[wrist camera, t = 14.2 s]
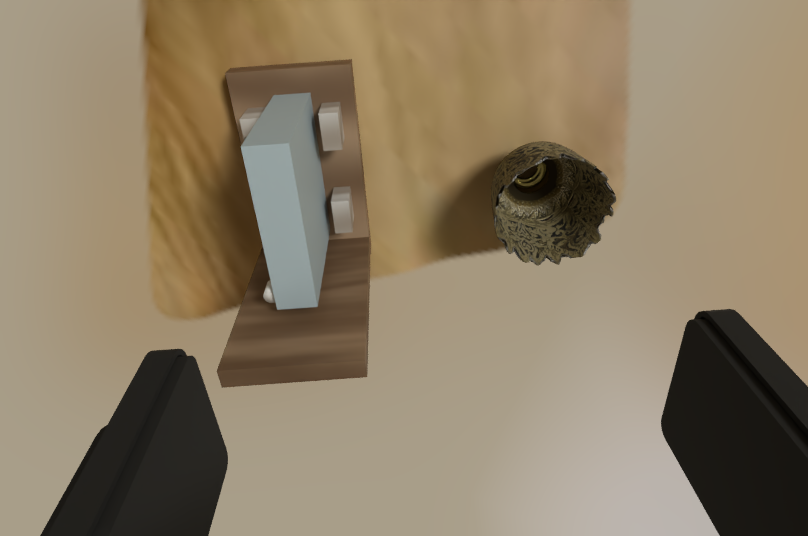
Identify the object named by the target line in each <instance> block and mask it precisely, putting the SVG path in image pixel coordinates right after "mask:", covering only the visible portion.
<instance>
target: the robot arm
mask: <svg viewBox="0 0 808 536" xmlns="http://www.w3.org/2000/svg"><path fill="white" fill-rule="evenodd" d="M661 427H662V431H663V435H664V437H665V439H666V441H667V443H668V445H669V446H670V448H671V450H672V452H673V454H674V455H675V457H676V459H677V461H678V462H679V464H680V466H681V468H682V470H683V471H684V473H685V475H686V477H687V478H688V480H689V482H690V484H691V486H692V487H693V489H694V491H695V493H696V494H697V496H698V498H699V500H700V502H701V503H702V505H703V507H704V509H705V510H706V512H707V514H708V516H709V517H710V519H711V521H712V523H713V525H714V526H715V528H716V530H717V532H718V533H719V535H720V536H808V387H807V385H806V384H805V383H804V382H803V381H802V380H801V379H800V378H799V377H798V376H797V375H796V374H795V373H794V372H793V371H792V369H790V367H789V366H788V365H787V364H786V363H785V362H784V361H783V360H782V359H781V358H780V357H779V356H778V355H777V354H776V352H775V351H774V350H773V349H772V348H771V347H770V346H769V345H768V344H767V343H766V342H765V341H764V340H763V339H762V338H761V337H760V335H759V334H757V332H756V331H755V330H754V329H753V328H752V327H751V326H750V325H749V324H748V323H747V322H746V321H745V320H744V319H743V317H742V316H741V315H740V314H739V313H737V312H736V311H735V310H731V309H726V310H711V311H701V312H698V313H697V315H696V316H695V318H694V319H693V320H689V321H688V322H687V325H686V327H685V331H684V335H683V339H682V343H681V346H680V350H679V354H678V358H677V362H676V365H675V369H674V373H673V377H672V381H671V384H670V388H669V392H668V396H667V399H666V404H665V407H664V411H663V415H662V419H661ZM227 464H228V455H227V450H226V446H225V444H224V441H223V438H222V435H221V432H220V429H219V426H218V423H217V420H216V417H215V414H214V411H213V408H212V405H211V402H210V400H209V397H208V394H207V391H206V388H205V385H204V382H203V379H202V376H201V374H200V370H199V368H198V364H197V362H196V359H195V358H194V357H193V356H187V355H186V353H185V352H184V351H183V350H182V349H171V350H157V351H150V352H149V353H147V355H146V356H145V358H144V360H143V361H142V363H141V365H140V367H139V369H138V371H137V373H136V374H135V376H134V378H133V380H132V381H131V383H130V385H129V387H128V389H127V391H126V392H125V394H124V396H123V398H122V400H121V401H120V403H119V405H118V407H117V409H116V411H115V412H114V414H113V416H112V418H111V420H110V422H109V423H108V425H107V426H105V427H104V428H102V429H101V430H100V432H99V433H98V434H97V436H96V437H95V439H94V441H93V442H92V445H91V446H90V448H89V450H88V451H87V453H86V455H85V457H84V459H83V460H82V462H81V464H80V466H79V468H78V469H77V471H76V473H75V475H74V476H73V478H72V480H71V482H70V484H69V485H68V487H67V489H66V491H65V493H64V494H63V496H62V498H61V500H60V501H59V503H58V505H57V507H56V509H55V510H54V512H53V514H52V516H51V518H50V519H49V521H48V523H47V525H46V526H45V528H44V530H43V532H42V534H41V535H40V536H208V534H209V531H210V527H211V524H212V520H213V517H214V513H215V509H216V506H217V502H218V499H219V495H220V492H221V488H222V484H223V481H224V478H225V474H226V470H227Z"/></svg>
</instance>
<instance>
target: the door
mask: <svg viewBox="0 0 808 536" xmlns="http://www.w3.org/2000/svg"><path fill="white" fill-rule="evenodd" d="M241 151H242V155H243V159H244V164H245V168H246V173H247V177H248V182H249V186H250V191H251V195H252V200H253V204H254V209H255V213H256V218H257V222H258V226H259V231H260V235H261V240H262V244H263V249H264V253H265V258H266V262H267V267H268V271H269V276H270V280H269V281H268V282H267V285H266V288H265V291H264V294H263V297H264V299H265V301H267V302H269V303H274V302H276V307H277V310H282V309H295V308H309V307H318V301H319V295H320V289H321V283H322V277H323V271H324V265H325V259H326V252H327V246H328V240H329V234H330V223H329V216H328V209H327V203H326V196H325V189H324V182H323V175H322V168H321V162H320V155H319V148H318V141H317V134H316V128H315V121H314V114H313V107H312V100H311V94H310V93H298V94H284V95H273V97H272V99H271V100H270V102H269V103H268V105H267V106H266V108H265V109H264V111H263V113H262V114H261V116H260V117H259V119H258V120H257V122H256V124H255V125H254V127H253V128H252V130H251V131H250V133H249V134H248V136H247V137H245V138H244V142H243V144H242V145H241Z"/></svg>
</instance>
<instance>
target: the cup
mask: <svg viewBox="0 0 808 536" xmlns="http://www.w3.org/2000/svg"><path fill="white" fill-rule="evenodd" d="M536 165H537V170H536V172H535V174H534V175H533V176H532V177H530V178H527V179H522V178H520V177H518V175H520V174H522V173H523V172H525V171H526V170H528V169H529V168H531V167H533V166H536ZM607 180H609V179H608V178H607V176H606V175H605V174H604V173H603V172H602V171H600V170H599V169H597V168H596V166H595V165H594V164H592V163H590V162H589V161H587V160H586V159H584V158H583V157H582V156H580V155H578V154H577V153H575V152H574V151H572V150H570V149H568V148H566V147H564V146H562V145H559V144H556V143H551V142H533V143H529V144H526V145H523V146H521V147H519V148H517V149H515V150H514V151H512V152H511V153H510V154H509V155H507V156H506V157H505V158H504V160H503V161H502V162H501V163H500V165H499V166H498V168H497V170H496V172H495V175H494V178H493V182H492V187H491V200H492V209H493V216H494V222H495V231H496V235H497V237H498V239H499V240H500V241H502V242H503V243H504V245H505V248H506V250H507V252H508V253H509V254H511V253H513V252H515V253H516V255H517V256H518V258H519V259H520V260H522V261H523V262H525V263H526V262H529V261H531V262H534V263H535V264H536V265H540V264H541V263H542V262H543V261H545V258H548V259H549V260H550V261H551V262H554V263H555V264H560V261H561V258H562V257H569V258H576V257H582V256H583V255H584V254H585V253H586V251H587V250H588V248H589V247H590V245H591V244H596V243H598V242H599V241H600V239H601V234H600V233H599V229H598V228H599V226H600V224H602V223H604V218H605V216H606V215H610V216H613V209H612V207H611V205H612V204H613V203H615V202H616V196H615V194H614V192H613V190H612V189H611V187H610V186H609V185H608V183H607Z"/></svg>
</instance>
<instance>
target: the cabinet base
mask: <svg viewBox="0 0 808 536" xmlns="http://www.w3.org/2000/svg"><path fill="white" fill-rule="evenodd" d="M225 75H226V79H227V84H228V88H229V93H230V97H231V102H232V106H233V111H234V115H235V120H236V124H237V129H238V133H239V137H240V142H241V145H242V144H243V142H244V138H245V137H247V136H248V134H249V133H250V131H251V130H252V128H253V127H254V125H255V124H256V122H257V120H258V119H259V117H260V116H261V114H262V113H263V111H264V109H265V108H266V106H267V105H268V103H269V102H270V100H271V99H272V97H273V95H284V94H298V93H310V94H311V100H312V107H313V114H314V121H315V128H316V134H317V141H318V148H319V155H320V162H321V168H322V175H323V182H324V189H325V196H326V203H327V209H328V216H329V223H330V234H329V240H328V246H327V252H326V259H325V265H324V271H323V277H322V283H321V289H320V295H319V301H318V307H309V308H295V309H282V310H277V307H276V302H274V303H269V302H267V301H265V299H264V297H263V294H264V291H265V288H266V285H267V282H268V281H269V280H270V276H269V271H268V267H267V262H266V258H265V253H264V249H263V247H262V250H261V252H260V255H259V258H258V261H257V263H256V266H255V269H254V271H253V274H252V277H251V280H250V282H249V285H248V288H247V290H246V293H245V296H244V299H243V301H242V304H241V307H240V309H239V312H238V315H237V318H236V320H235V323H234V326H233V329H232V331H231V334H230V337H229V339H228V342H227V345H226V348H225V350H224V353H223V356H222V358H221V361H220V364H219V366H218V369H217V373H218V376H219V379H220V383H221V386H222V387H235V386H249V385H263V384H275V383H290V382H303V381H318V380H332V379H345V378H360V377H367V363H368V325H369V289H370V254H371V239H370V229H369V220H368V210H367V201H366V191H365V182H364V172H363V163H362V153H361V144H360V134H359V125H358V116H357V106H356V97H355V87H354V78H353V68H352V60H338V61H324V62H310V63H296V64H282V65H268V66H254V67H240V68H230V69H229V70H228V71H227V72H226V73H225Z"/></svg>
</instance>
